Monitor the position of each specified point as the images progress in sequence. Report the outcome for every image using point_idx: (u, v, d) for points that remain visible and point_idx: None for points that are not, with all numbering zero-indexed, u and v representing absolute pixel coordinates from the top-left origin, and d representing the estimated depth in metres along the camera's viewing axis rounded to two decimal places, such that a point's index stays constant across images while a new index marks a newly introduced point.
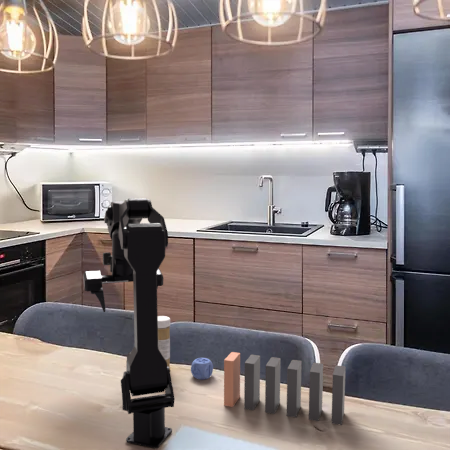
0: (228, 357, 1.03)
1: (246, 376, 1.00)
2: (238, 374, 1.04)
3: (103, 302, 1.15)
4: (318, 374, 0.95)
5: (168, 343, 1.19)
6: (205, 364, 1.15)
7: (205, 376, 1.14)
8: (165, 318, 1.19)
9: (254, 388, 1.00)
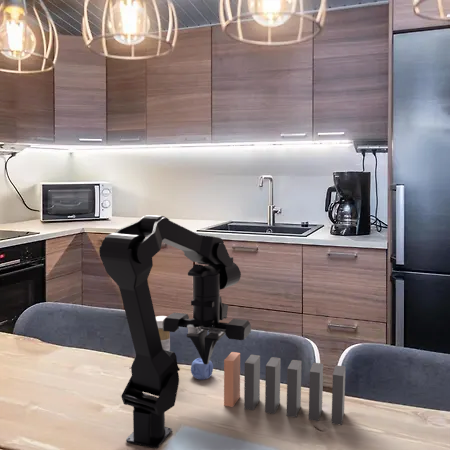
0: (228, 357, 1.03)
1: (246, 376, 1.00)
2: (238, 374, 1.04)
3: (200, 351, 1.03)
4: (318, 374, 0.95)
5: (168, 343, 1.19)
6: (205, 364, 1.15)
7: (204, 376, 1.14)
8: None
9: (254, 388, 1.00)
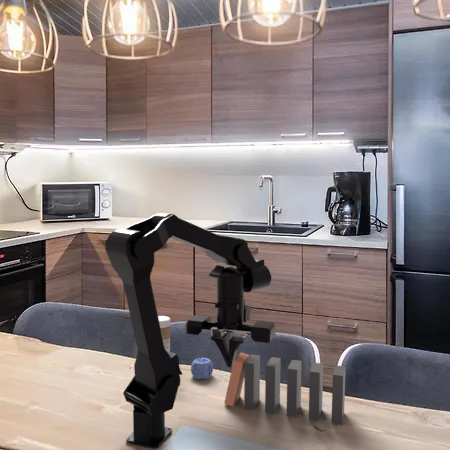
0: (238, 357, 1.02)
1: (246, 376, 1.00)
2: (243, 375, 1.04)
3: (224, 353, 1.02)
4: (318, 374, 0.95)
5: (168, 343, 1.19)
6: (205, 364, 1.15)
7: (204, 376, 1.14)
8: (165, 318, 1.19)
9: (254, 388, 1.00)
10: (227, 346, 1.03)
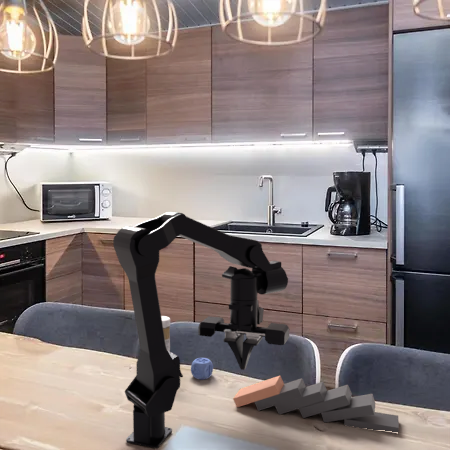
0: (277, 382, 1.00)
1: (285, 393, 0.97)
2: None
3: (238, 356, 1.01)
4: (372, 413, 0.92)
5: (168, 343, 1.19)
6: (205, 364, 1.15)
7: (204, 376, 1.14)
8: (165, 318, 1.19)
9: None
10: (240, 348, 1.02)
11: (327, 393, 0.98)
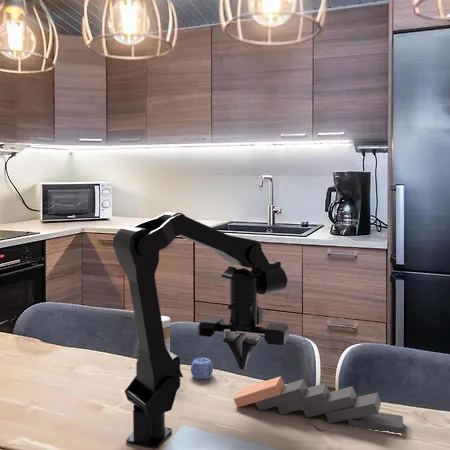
0: (278, 383, 0.99)
1: (287, 394, 0.97)
2: None
3: (237, 356, 1.01)
4: (375, 412, 0.91)
5: (168, 343, 1.19)
6: (205, 364, 1.15)
7: (204, 376, 1.14)
8: (165, 318, 1.19)
9: None
10: (240, 348, 1.02)
11: (331, 394, 0.98)
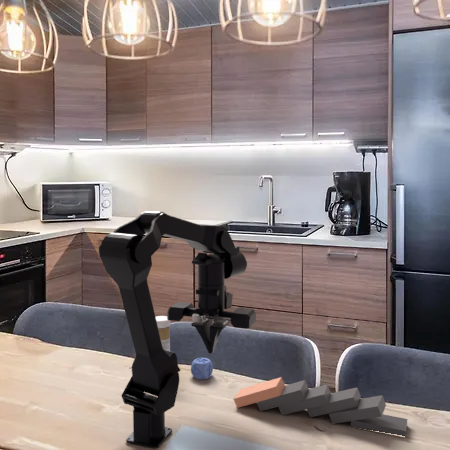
0: (278, 384, 0.99)
1: (288, 395, 0.97)
2: None
3: (205, 340, 1.03)
4: (379, 415, 0.90)
5: (168, 343, 1.19)
6: (205, 364, 1.15)
7: (204, 376, 1.14)
8: (165, 318, 1.19)
9: None
10: (208, 332, 1.04)
11: (336, 394, 0.98)
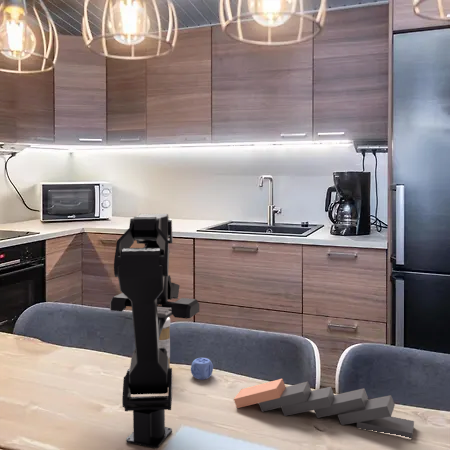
0: (279, 386, 0.99)
1: (290, 396, 0.96)
2: None
3: None
4: (388, 415, 0.89)
5: (168, 343, 1.19)
6: (205, 364, 1.15)
7: (204, 376, 1.14)
8: None
9: None
10: None
11: (343, 395, 0.97)
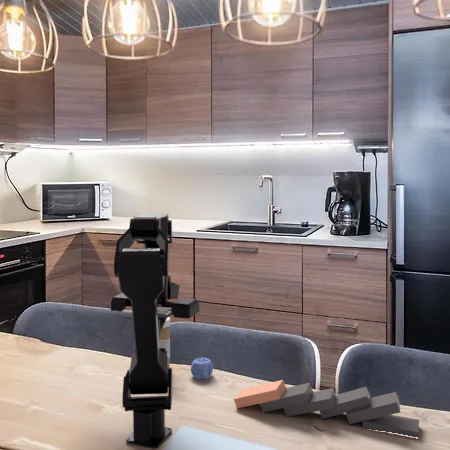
0: (279, 387, 0.98)
1: (292, 397, 0.96)
2: None
3: None
4: (397, 411, 0.91)
5: (168, 343, 1.19)
6: (205, 364, 1.15)
7: (204, 376, 1.14)
8: None
9: None
10: None
11: (346, 394, 0.98)
